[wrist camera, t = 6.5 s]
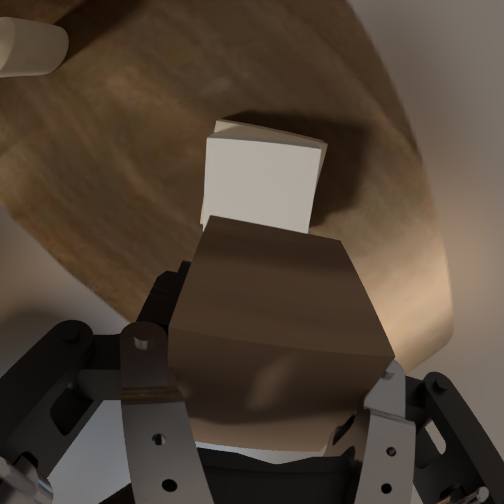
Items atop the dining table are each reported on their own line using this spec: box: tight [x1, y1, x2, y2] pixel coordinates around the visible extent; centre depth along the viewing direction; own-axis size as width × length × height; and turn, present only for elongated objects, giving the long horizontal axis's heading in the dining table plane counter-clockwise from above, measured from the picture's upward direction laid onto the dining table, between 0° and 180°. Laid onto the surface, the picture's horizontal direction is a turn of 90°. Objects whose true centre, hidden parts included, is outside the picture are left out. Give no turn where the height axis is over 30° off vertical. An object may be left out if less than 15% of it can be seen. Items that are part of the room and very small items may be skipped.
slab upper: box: [203, 133, 321, 234], centre depth 23 cm, size 8×8×3 cm
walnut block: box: [168, 215, 395, 451], centre depth 10 cm, size 5×5×6 cm
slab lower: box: [200, 119, 328, 224], centre depth 26 cm, size 9×9×3 cm
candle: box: [0, 17, 69, 77], centre depth 15 cm, size 6×6×10 cm
